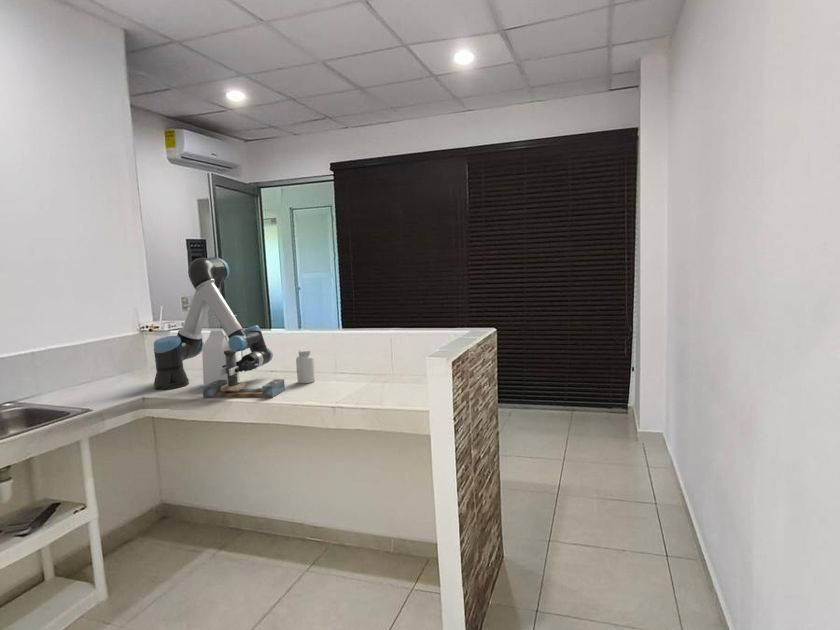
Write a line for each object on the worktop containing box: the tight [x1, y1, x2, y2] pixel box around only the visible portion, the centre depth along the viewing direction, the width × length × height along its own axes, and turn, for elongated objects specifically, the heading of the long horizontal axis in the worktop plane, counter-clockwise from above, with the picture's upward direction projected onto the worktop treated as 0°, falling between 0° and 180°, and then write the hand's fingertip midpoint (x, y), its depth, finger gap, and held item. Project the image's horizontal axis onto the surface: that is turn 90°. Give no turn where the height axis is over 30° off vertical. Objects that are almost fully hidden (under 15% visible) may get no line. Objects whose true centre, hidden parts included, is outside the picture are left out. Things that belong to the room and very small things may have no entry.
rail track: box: [202, 378, 286, 399], centre depth 221 cm, size 32×12×6 cm, turn 81°
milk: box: [201, 329, 241, 386], centre depth 242 cm, size 12×12×26 cm
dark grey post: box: [221, 350, 246, 391], centre depth 221 cm, size 7×8×17 cm
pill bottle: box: [295, 349, 316, 384], centre depth 238 cm, size 8×8×15 cm
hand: (225, 372), depth 216 cm, fingers closed on dark grey post, 4 cm apart
